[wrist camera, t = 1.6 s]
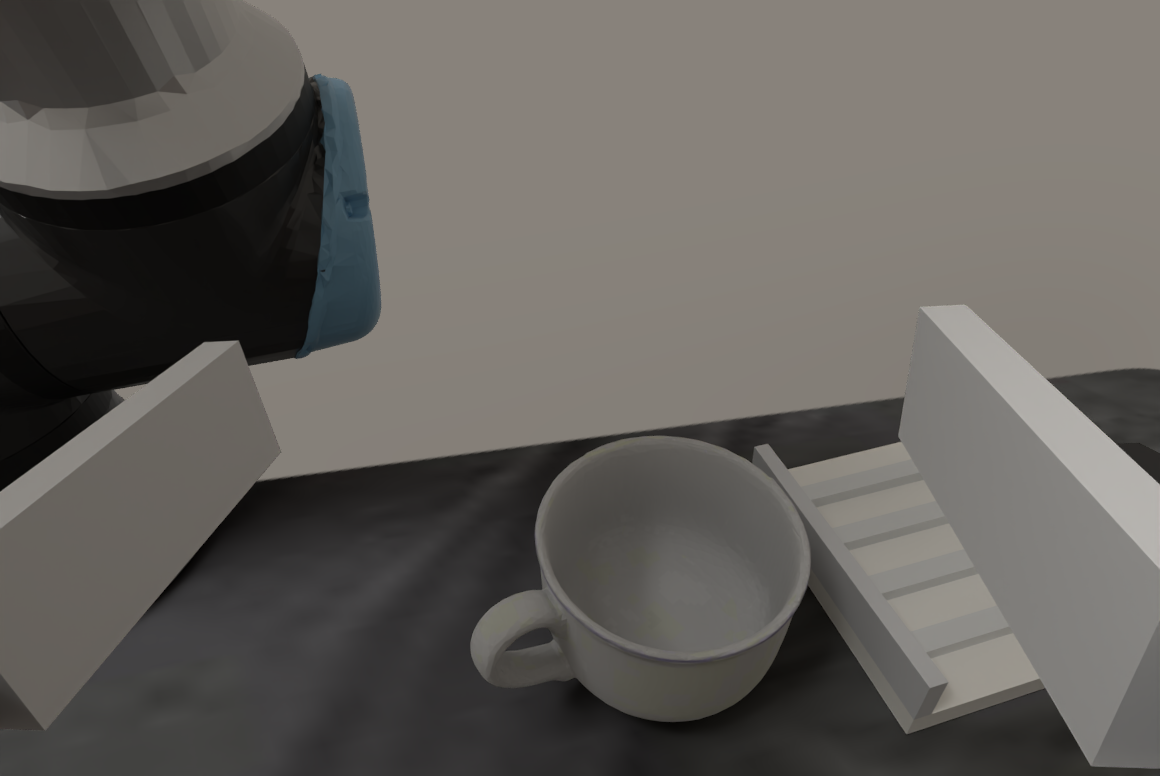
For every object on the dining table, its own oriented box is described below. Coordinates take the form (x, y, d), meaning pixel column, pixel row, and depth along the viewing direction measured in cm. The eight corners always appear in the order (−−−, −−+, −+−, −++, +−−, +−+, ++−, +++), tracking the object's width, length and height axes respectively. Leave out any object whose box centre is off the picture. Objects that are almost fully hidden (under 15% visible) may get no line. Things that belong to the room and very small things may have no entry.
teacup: (712, 522, 36) (723, 409, 31) (835, 706, 28) (877, 589, 23) (461, 603, 33) (431, 490, 28) (517, 837, 25) (487, 734, 20)
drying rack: (906, 734, 27) (929, 688, 25) (747, 493, 38) (754, 446, 35) (1219, 630, 30) (1265, 580, 27) (987, 434, 40) (1007, 387, 38)
